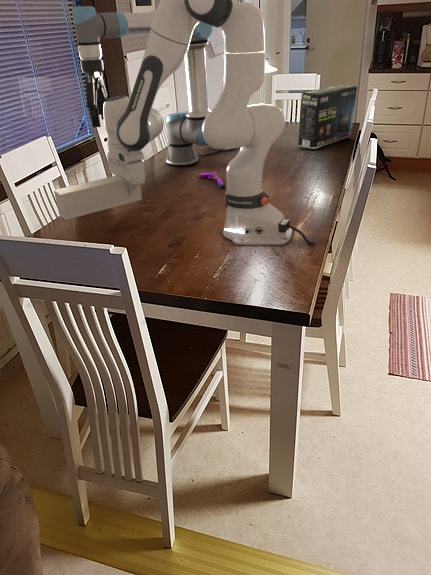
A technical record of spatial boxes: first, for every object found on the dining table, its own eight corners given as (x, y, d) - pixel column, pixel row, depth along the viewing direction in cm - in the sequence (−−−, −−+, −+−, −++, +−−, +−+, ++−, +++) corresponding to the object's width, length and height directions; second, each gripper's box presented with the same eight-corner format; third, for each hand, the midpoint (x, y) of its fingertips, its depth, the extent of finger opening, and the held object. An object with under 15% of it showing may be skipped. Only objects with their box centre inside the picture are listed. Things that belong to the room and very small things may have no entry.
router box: (314, 151, 231) (318, 94, 217) (296, 148, 237) (299, 92, 224) (352, 138, 251) (358, 85, 238) (335, 135, 258) (340, 83, 245)
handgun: (199, 176, 203) (199, 172, 202) (216, 174, 204) (216, 170, 203) (207, 191, 185) (207, 186, 184) (226, 189, 186) (225, 184, 185)
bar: (134, 195, 159) (131, 171, 155) (141, 199, 156) (138, 175, 151) (59, 215, 146) (53, 190, 142) (65, 220, 143) (59, 194, 138)
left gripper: (89, 56, 169) (99, 116, 180) (69, 62, 147) (82, 130, 158) (109, 55, 168) (118, 116, 179) (92, 61, 147) (103, 130, 158)
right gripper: (100, 145, 153) (106, 185, 160) (128, 159, 138) (133, 202, 146) (117, 142, 156) (123, 181, 163) (146, 155, 141) (151, 197, 149)
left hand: (101, 123), depth 169 cm, fingers open, 13 cm apart
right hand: (128, 191), depth 154 cm, fingers closed on bar, 5 cm apart
